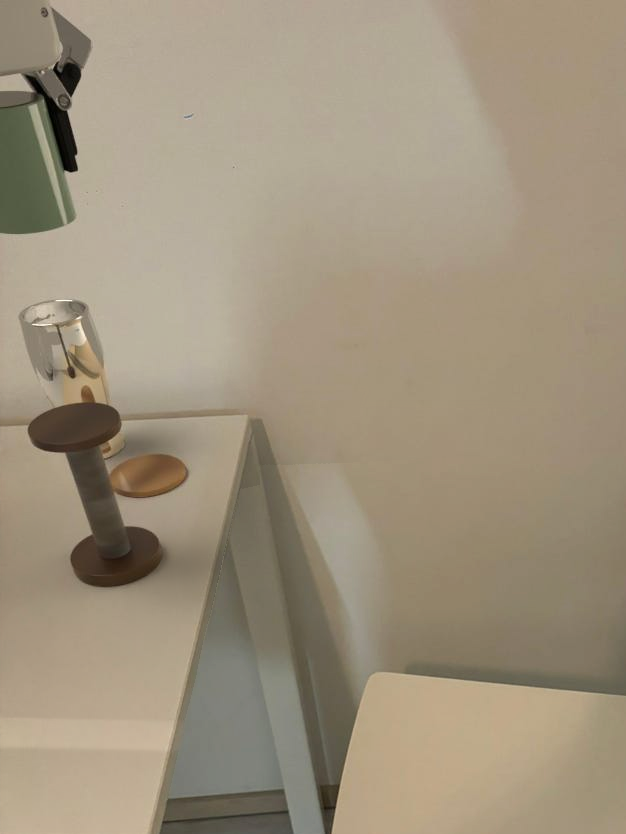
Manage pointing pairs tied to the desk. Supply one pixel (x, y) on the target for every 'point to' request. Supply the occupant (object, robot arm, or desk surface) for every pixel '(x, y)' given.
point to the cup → (30, 168)
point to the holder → (96, 494)
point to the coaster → (147, 475)
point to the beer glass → (68, 356)
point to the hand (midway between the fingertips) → (18, 176)
